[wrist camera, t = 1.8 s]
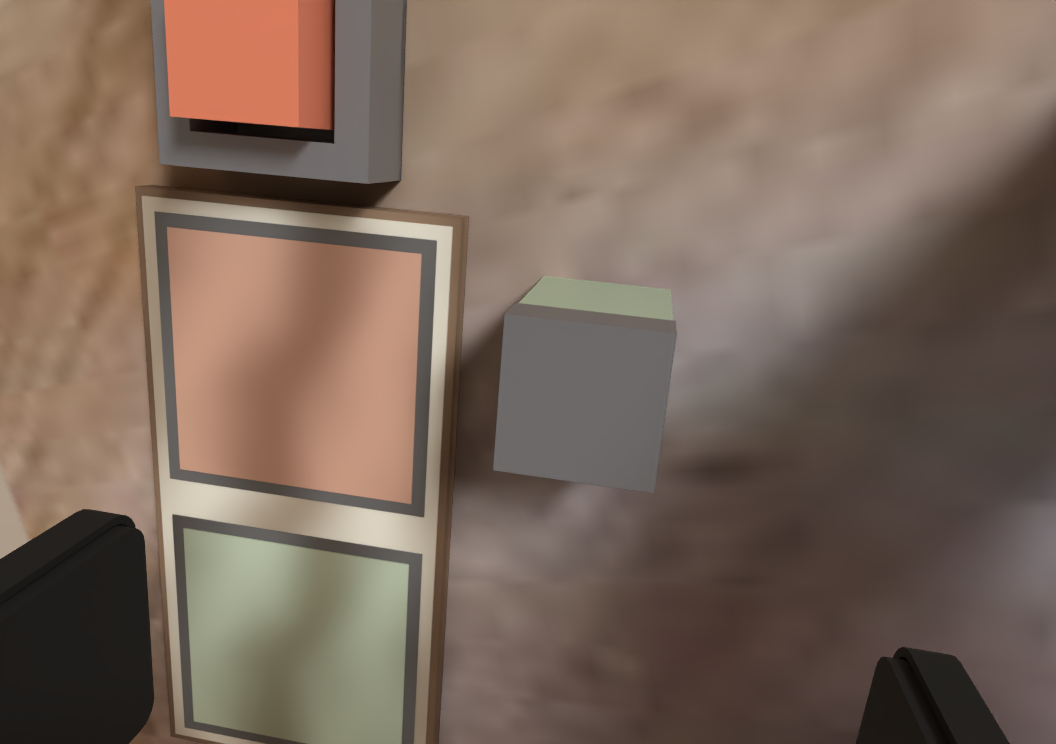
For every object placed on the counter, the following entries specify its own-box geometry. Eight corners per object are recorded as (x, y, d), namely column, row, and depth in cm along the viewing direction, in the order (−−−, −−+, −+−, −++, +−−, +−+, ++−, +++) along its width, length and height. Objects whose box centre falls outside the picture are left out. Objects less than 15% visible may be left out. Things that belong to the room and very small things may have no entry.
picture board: (469, 216, 27) (460, 219, 25) (437, 770, 33) (429, 792, 32) (152, 185, 28) (131, 186, 27) (184, 720, 35) (168, 739, 34)
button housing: (408, -42, 25) (373, -70, 22) (401, 180, 27) (368, 184, 24) (206, -54, 26) (146, -81, 22) (214, 163, 28) (159, 164, 24)
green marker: (672, 288, 26) (676, 333, 20) (655, 411, 27) (654, 493, 21) (542, 274, 27) (504, 314, 20) (532, 395, 28) (493, 470, 21)
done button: (344, -4, 24) (297, -28, 21) (342, 130, 25) (298, 127, 22) (224, -12, 24) (161, -35, 21) (228, 120, 25) (170, 116, 22)
